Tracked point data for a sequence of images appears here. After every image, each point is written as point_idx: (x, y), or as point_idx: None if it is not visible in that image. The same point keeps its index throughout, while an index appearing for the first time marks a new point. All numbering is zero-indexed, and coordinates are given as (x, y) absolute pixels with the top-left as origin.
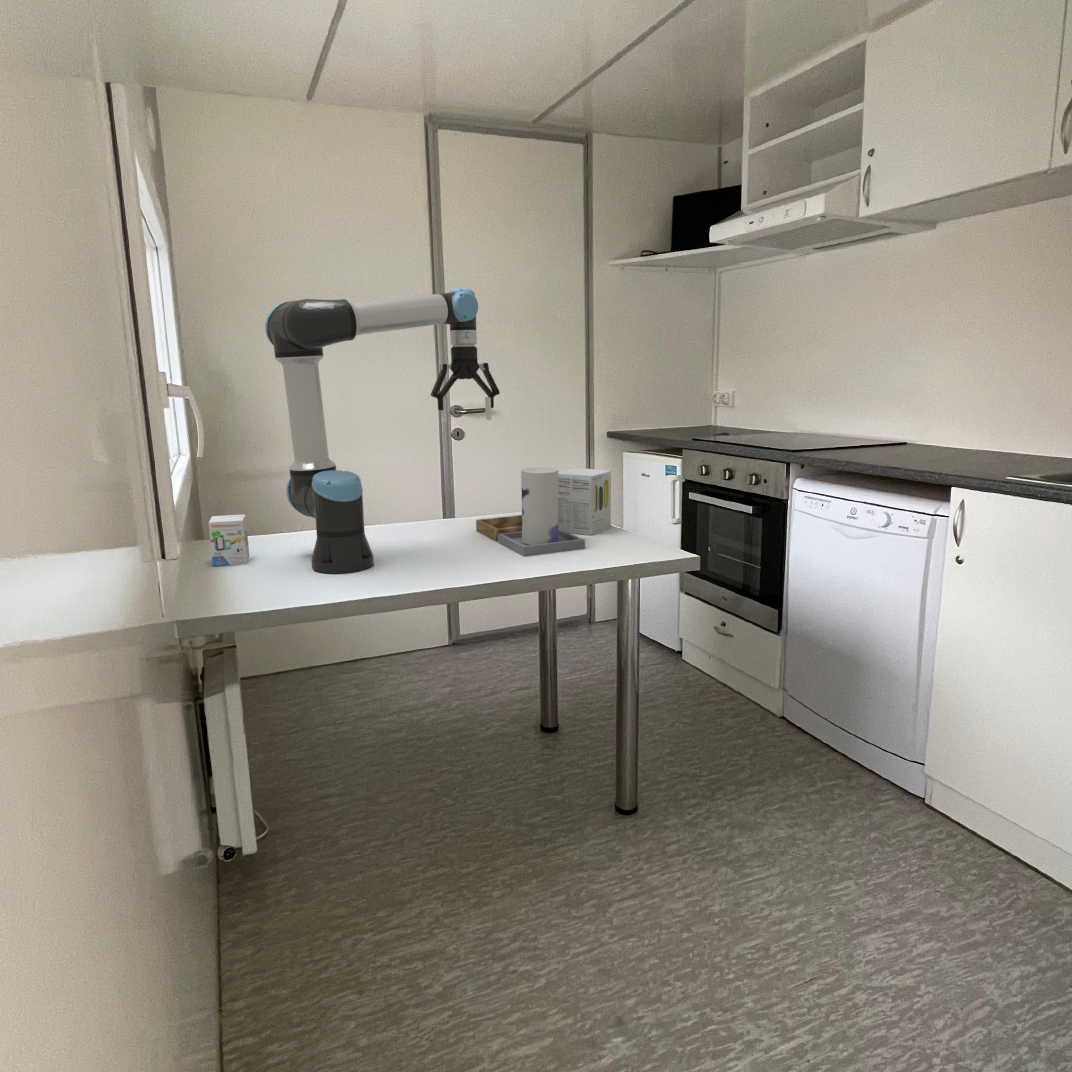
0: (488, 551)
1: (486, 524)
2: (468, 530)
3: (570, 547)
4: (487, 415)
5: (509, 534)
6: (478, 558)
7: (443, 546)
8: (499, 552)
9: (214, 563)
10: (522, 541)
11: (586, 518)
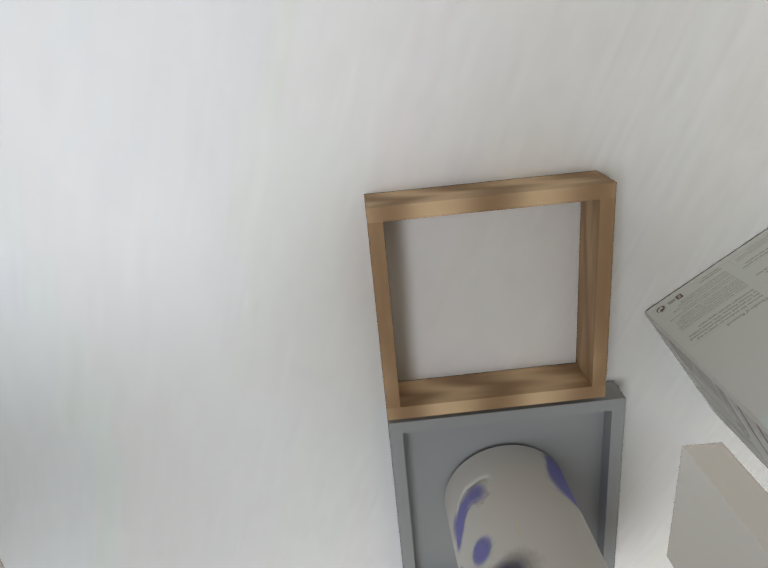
0: (322, 496)
1: (381, 321)
2: (335, 163)
3: None
4: (706, 563)
5: (430, 427)
6: (272, 555)
7: (187, 391)
8: (351, 516)
9: None
10: (445, 494)
11: (746, 445)
